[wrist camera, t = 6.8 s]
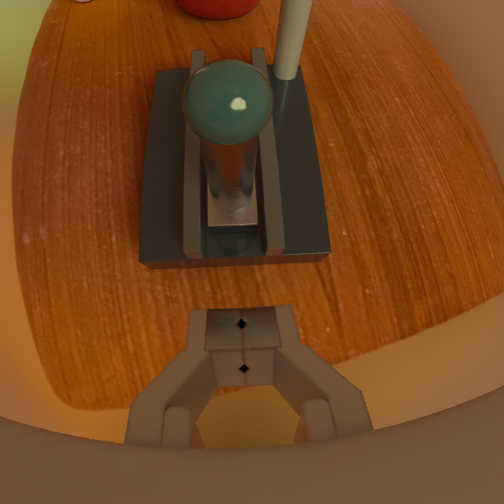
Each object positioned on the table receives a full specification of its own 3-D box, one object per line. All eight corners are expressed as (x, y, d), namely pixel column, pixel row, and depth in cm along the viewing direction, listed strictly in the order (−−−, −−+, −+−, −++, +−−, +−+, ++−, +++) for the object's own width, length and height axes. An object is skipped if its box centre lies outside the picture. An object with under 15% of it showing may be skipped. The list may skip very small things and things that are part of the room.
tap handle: (207, 234, 19) (169, 124, 8) (206, 175, 20) (180, 37, 9) (259, 231, 19) (285, 118, 8) (255, 173, 20) (272, 34, 9)
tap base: (151, 269, 22) (41, 197, 8) (162, 92, 25) (128, -35, 12) (319, 261, 22) (421, 180, 9) (295, 87, 26) (325, -42, 12)
